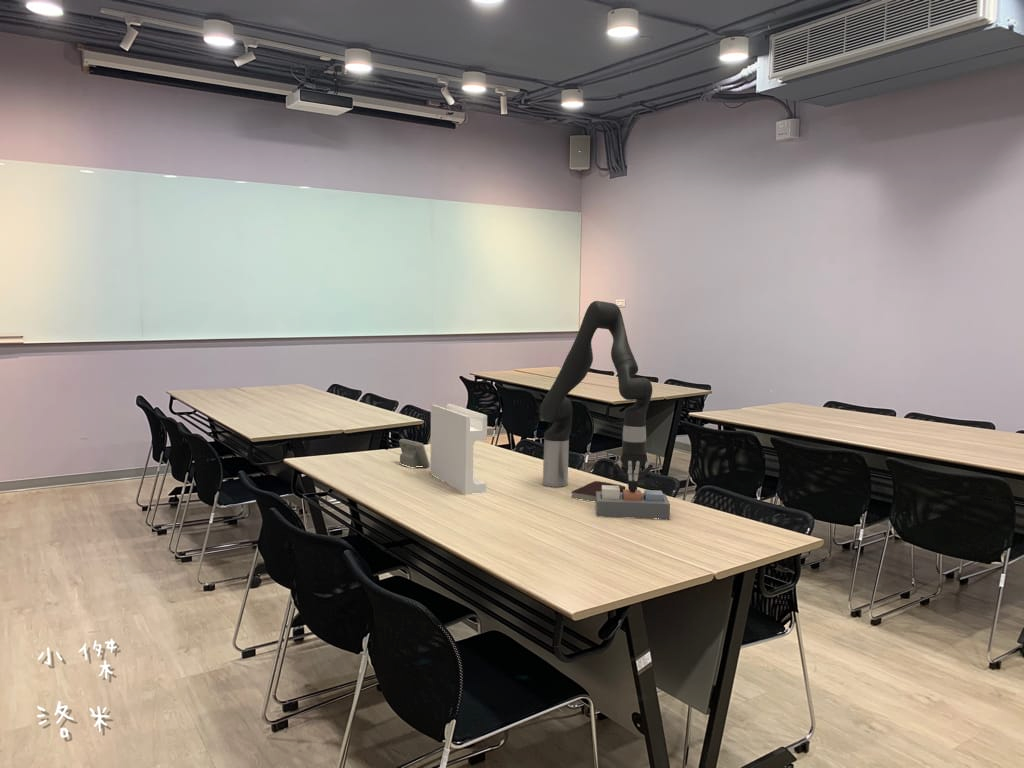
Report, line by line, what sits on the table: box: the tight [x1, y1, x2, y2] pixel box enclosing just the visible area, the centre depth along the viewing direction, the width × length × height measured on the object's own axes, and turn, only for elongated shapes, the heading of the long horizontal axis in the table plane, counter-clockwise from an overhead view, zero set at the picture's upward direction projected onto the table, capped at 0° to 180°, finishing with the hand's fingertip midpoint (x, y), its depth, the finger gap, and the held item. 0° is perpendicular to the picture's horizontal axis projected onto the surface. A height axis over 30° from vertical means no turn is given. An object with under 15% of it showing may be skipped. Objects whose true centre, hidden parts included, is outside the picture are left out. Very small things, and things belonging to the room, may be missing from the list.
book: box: [570, 480, 626, 503], centre depth 262 cm, size 12×19×3 cm, turn 148°
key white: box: [601, 485, 620, 500], centre depth 240 cm, size 6×6×4 cm
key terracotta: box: [623, 488, 642, 500], centre depth 240 cm, size 6×6×4 cm
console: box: [595, 491, 671, 520], centre depth 240 cm, size 23×13×5 cm, turn 85°
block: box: [429, 403, 488, 495], centre depth 275 cm, size 35×8×28 cm, turn 27°
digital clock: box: [398, 438, 430, 468], centre depth 306 cm, size 16×9×11 cm, turn 31°
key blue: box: [643, 489, 664, 501], centre depth 239 cm, size 6×6×4 cm
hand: (632, 491), depth 240 cm, fingers closed
